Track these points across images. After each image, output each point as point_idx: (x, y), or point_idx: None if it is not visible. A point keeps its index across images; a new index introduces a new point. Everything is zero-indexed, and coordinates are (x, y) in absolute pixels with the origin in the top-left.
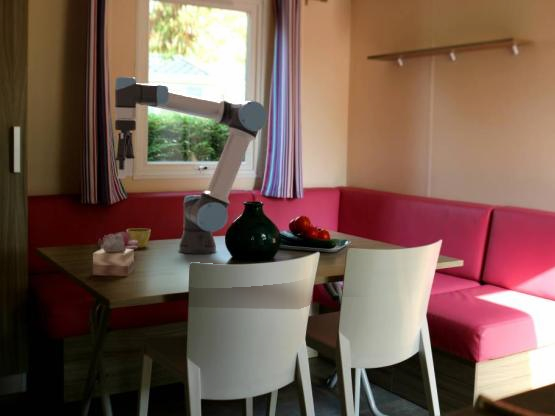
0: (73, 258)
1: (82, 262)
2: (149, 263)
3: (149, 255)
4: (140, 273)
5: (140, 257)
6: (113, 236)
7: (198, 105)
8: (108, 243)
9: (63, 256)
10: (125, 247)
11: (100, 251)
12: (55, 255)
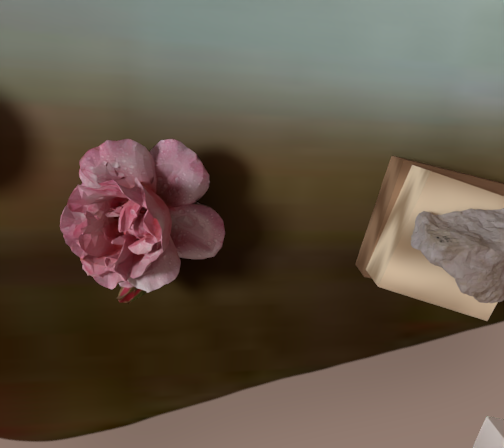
0: (183, 349)
1: (254, 321)
2: (298, 96)
3: (128, 86)
4: (473, 139)
5: (172, 126)
6: (497, 274)
7: None
8: None
9: (147, 378)
10: (199, 193)
11: (458, 297)
12: (129, 400)
